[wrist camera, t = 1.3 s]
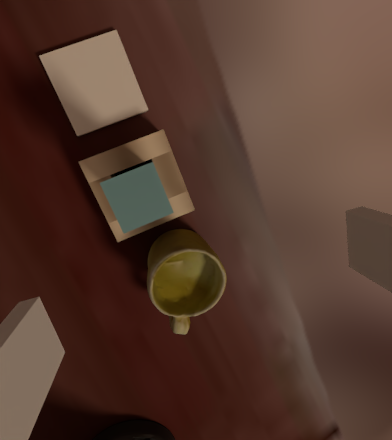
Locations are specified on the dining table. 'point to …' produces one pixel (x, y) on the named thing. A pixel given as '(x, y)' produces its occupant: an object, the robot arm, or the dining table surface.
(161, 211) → the plug
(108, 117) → the tile
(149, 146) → the socket block
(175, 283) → the mug
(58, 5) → the dining table surface
